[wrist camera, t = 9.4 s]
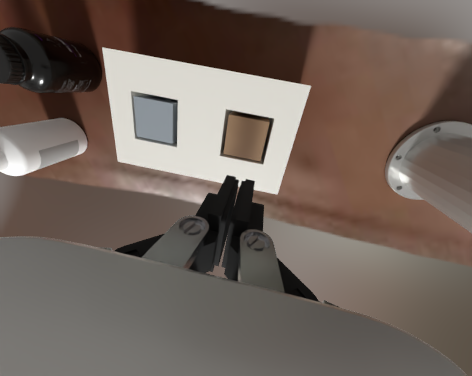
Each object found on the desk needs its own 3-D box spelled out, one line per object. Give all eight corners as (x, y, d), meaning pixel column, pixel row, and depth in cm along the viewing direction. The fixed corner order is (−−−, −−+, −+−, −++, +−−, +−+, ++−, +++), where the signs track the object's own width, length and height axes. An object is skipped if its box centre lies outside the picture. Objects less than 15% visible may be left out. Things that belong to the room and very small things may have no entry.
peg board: (299, 86, 28) (310, 85, 21) (274, 172, 35) (277, 194, 28) (141, 56, 29) (102, 47, 22) (146, 146, 36) (117, 161, 29)
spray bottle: (56, 147, 38) (-90, 189, 23) (51, 112, 35) (-124, 133, 19) (89, 158, 39) (-32, 208, 23) (87, 124, 35) (-56, 155, 20)
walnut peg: (268, 115, 29) (269, 122, 23) (261, 147, 31) (260, 161, 26) (235, 109, 29) (228, 114, 23) (230, 141, 31) (223, 153, 26)
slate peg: (190, 100, 29) (172, 103, 24) (189, 133, 32) (172, 143, 26) (158, 94, 30) (133, 96, 24) (159, 127, 32) (136, 136, 26)
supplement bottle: (96, 42, 29) (0, 17, 18) (108, 92, 32) (32, 95, 22) (54, 41, 30) (-61, 15, 19) (70, 90, 33) (-21, 92, 22)
